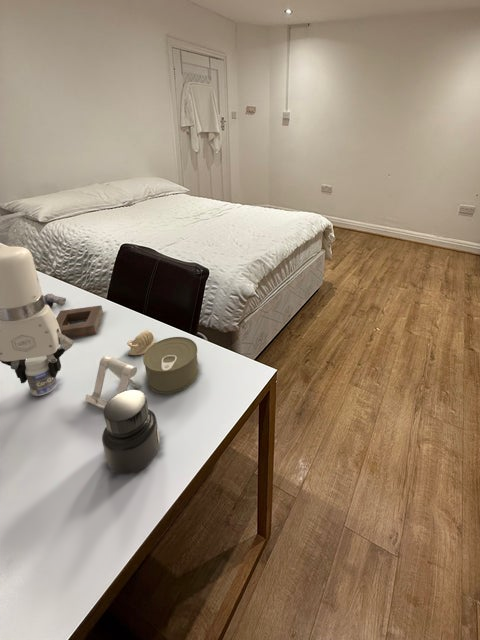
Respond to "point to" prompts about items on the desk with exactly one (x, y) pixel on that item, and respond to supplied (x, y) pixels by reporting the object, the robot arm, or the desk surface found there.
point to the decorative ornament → (141, 343)
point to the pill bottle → (39, 376)
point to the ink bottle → (129, 432)
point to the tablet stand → (119, 369)
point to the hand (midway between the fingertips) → (40, 375)
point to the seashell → (53, 300)
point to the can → (171, 365)
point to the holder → (80, 329)
